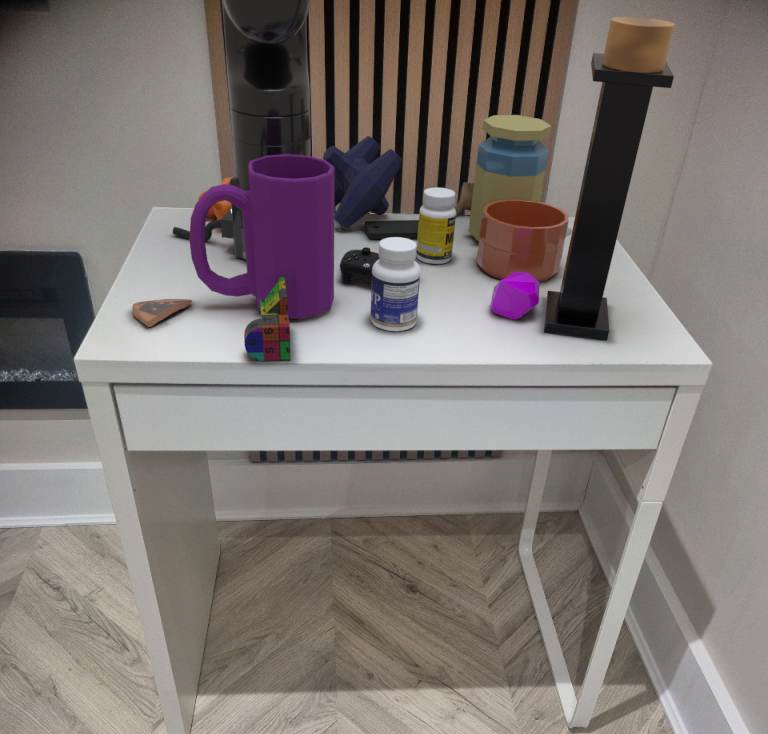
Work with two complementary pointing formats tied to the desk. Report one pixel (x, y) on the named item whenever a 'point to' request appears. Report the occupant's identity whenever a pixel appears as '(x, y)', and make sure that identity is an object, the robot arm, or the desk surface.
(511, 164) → the jar
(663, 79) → the shelf stand
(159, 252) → the desk surface
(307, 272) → the mug
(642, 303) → the desk surface
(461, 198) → the brown paper bag
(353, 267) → the game controller
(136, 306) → the pottery shard
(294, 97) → the robot arm
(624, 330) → the desk surface
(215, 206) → the orange fox figurine
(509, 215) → the bowl
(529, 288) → the crystal
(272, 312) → the puzzle-patterned holder
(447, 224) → the supplement bottle
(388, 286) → the pill bottle
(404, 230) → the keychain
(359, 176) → the tetrapod
